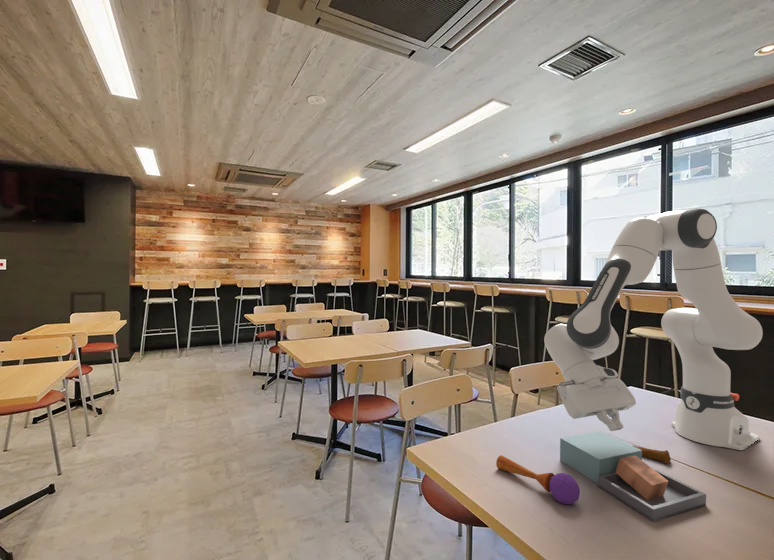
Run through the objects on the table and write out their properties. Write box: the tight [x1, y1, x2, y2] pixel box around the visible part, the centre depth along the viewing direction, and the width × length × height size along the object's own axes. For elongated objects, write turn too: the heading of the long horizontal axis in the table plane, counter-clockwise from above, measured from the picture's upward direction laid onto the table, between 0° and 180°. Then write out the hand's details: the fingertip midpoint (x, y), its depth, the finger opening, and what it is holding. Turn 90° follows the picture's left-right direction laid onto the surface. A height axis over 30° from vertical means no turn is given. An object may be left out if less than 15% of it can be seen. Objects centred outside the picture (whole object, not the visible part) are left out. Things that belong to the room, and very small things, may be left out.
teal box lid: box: [559, 430, 643, 485], centre depth 96 cm, size 14×12×6 cm
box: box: [597, 466, 707, 522], centre depth 84 cm, size 16×13×2 cm
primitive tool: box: [632, 445, 672, 465], centre depth 105 cm, size 19×6×4 cm, turn 48°
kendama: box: [495, 455, 581, 505], centre depth 88 cm, size 6×6×20 cm
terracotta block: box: [615, 455, 668, 500], centre depth 85 cm, size 5×4×8 cm
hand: (617, 429), depth 92 cm, fingers closed
